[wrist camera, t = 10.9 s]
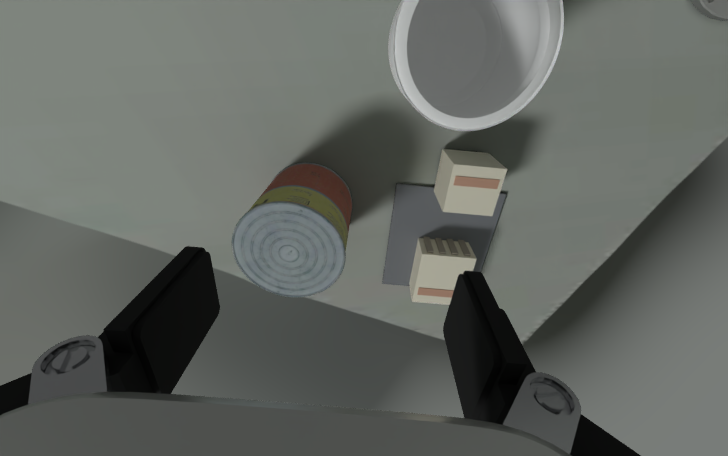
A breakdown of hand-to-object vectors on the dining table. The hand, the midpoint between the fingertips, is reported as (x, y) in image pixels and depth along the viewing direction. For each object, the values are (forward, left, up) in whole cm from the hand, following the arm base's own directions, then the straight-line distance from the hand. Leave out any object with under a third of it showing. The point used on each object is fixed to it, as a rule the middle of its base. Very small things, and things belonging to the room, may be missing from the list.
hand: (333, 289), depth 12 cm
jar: (-7, -9, -28) cm, 31 cm away
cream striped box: (-13, +17, -28) cm, 36 cm away
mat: (-12, +14, -28) cm, 34 cm away
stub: (-13, +4, -28) cm, 31 cm away
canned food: (+6, +10, -29) cm, 31 cm away
